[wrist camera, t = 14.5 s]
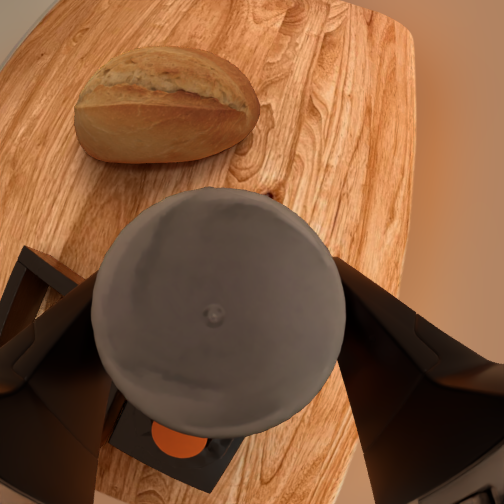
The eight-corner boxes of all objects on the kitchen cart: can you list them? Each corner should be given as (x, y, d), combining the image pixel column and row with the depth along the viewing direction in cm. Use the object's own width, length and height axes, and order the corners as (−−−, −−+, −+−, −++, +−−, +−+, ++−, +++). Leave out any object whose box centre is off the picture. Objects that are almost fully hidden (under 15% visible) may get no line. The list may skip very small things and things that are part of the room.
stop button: (196, 455, 17) (193, 467, 15) (150, 432, 17) (143, 442, 15) (218, 416, 17) (216, 425, 16) (170, 392, 17) (164, 399, 16)
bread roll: (259, 182, 24) (271, 125, 16) (77, 189, 23) (28, 144, 15) (256, 87, 26) (264, 21, 18) (97, 97, 25) (68, 41, 17)
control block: (211, 480, 19) (208, 507, 16) (117, 433, 20) (98, 452, 16) (272, 374, 21) (280, 386, 18) (170, 323, 22) (158, 325, 18)
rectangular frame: (106, 443, 19) (86, 462, 16) (6, 366, 20) (-22, 371, 16) (161, 326, 22) (147, 328, 18) (50, 255, 22) (23, 244, 18)
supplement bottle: (292, 370, 15) (410, 460, 4) (173, 381, 15) (69, 489, 4) (280, 253, 16) (368, 130, 5) (163, 264, 16) (46, 159, 5)
